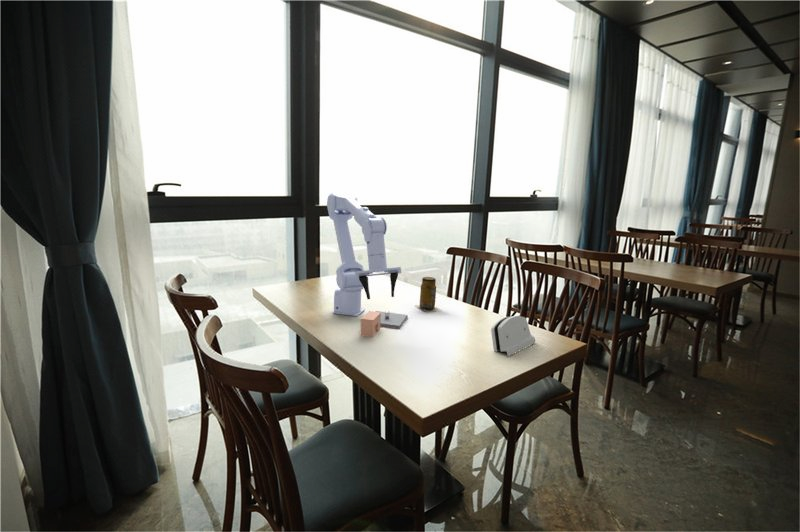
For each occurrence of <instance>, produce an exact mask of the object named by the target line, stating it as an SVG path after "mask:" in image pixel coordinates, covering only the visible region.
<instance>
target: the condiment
mask: <svg viewBox="0 0 800 532" xmlns="http://www.w3.org/2000/svg"><path fill="white" fill-rule="evenodd" d="M421 279H422V280H421V285H420V293H419V295H420V296H419V304H418V305H417V304H416V305H415V307H416V308H418V309H420V310H422V311H424V312H429V313H430V312H436V311H439V312H440V311H441V309H440V308H438V307H436V298H437V297H436V295H437V285H436V281H437V279H436V278H435V277H433V276H432V277H431V276H424V277H422V278H421Z"/></svg>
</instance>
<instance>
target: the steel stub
mask: <svg viewBox="0 0 800 532" xmlns="http://www.w3.org/2000/svg"><path fill="white" fill-rule="evenodd" d="M384 312H385V318H386V319H389V315H390V313H391V312H390V311H388V310H386V311H384Z"/></svg>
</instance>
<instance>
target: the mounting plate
mask: <svg viewBox="0 0 800 532" xmlns="http://www.w3.org/2000/svg"><path fill="white" fill-rule="evenodd" d="M374 312H381V321H380V327H385V328H392V329H399V330H400V328H401V327H402V326H403V324H404V323H405V321H406V320H407V319H408V314H405V313H396V312H390V315H389V319H386V318H385V311H381V310H380V311H378V310H375V311H374Z"/></svg>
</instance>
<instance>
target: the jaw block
mask: <svg viewBox="0 0 800 532" xmlns="http://www.w3.org/2000/svg"><path fill="white" fill-rule="evenodd" d="M381 312H382V311H381ZM381 312H375V311H373V310H372V311H371V310H369V311H367V312H366V313H365V314H364V315H363V316H362V317H361V318H360V335H359V336H363V337H370V338H374V336H375V335H376V332H379V330H380V329H381V326H380V321H381Z"/></svg>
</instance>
